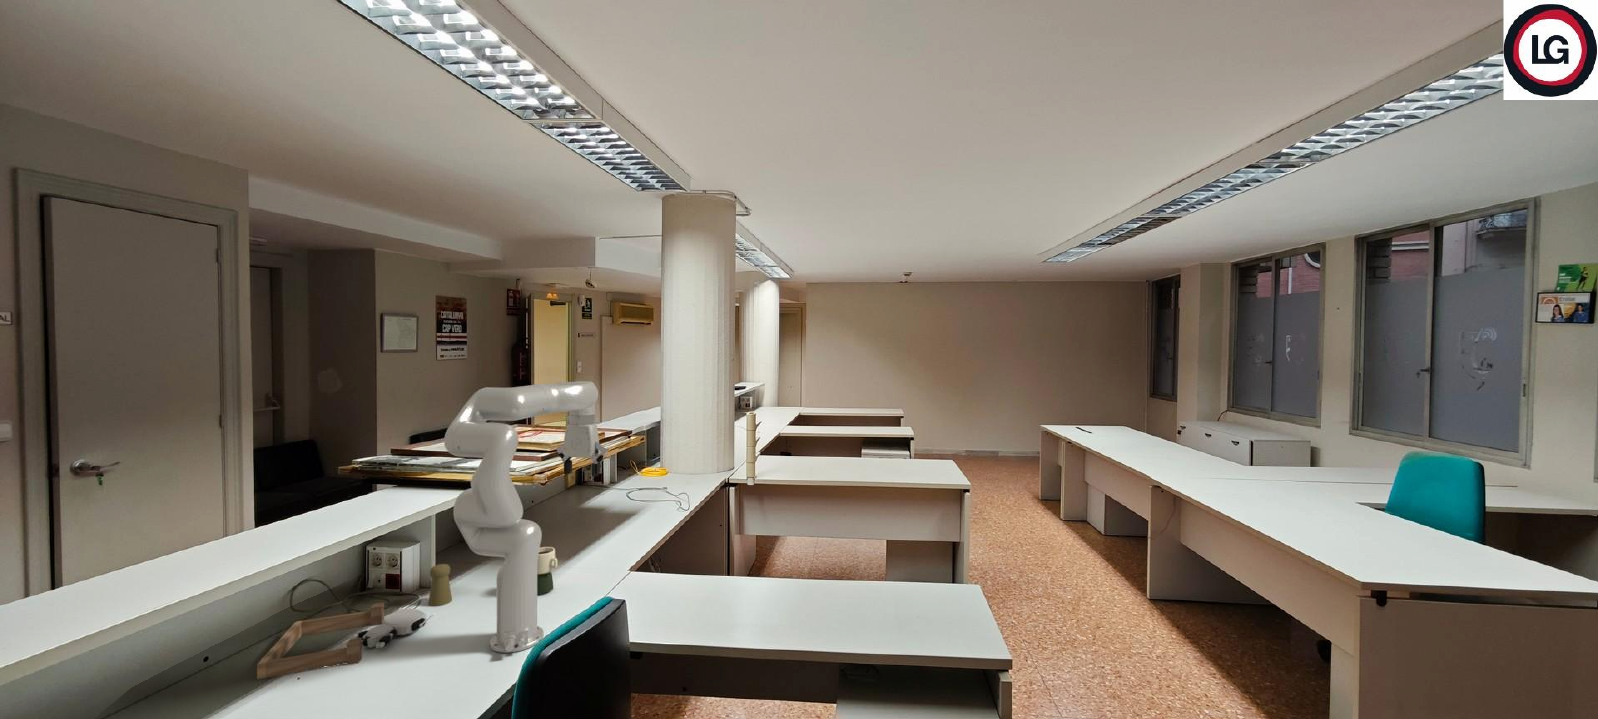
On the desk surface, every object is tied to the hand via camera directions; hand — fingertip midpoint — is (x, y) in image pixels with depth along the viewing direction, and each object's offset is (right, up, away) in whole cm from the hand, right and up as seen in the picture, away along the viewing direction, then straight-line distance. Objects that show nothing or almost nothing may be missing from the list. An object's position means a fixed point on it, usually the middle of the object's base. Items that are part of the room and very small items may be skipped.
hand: (581, 474), depth 179 cm
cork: (-39, -37, -9) cm, 54 cm away
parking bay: (-51, -37, -35) cm, 72 cm away
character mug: (-12, -37, -1) cm, 39 cm away
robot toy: (-39, -37, -29) cm, 61 cm away
